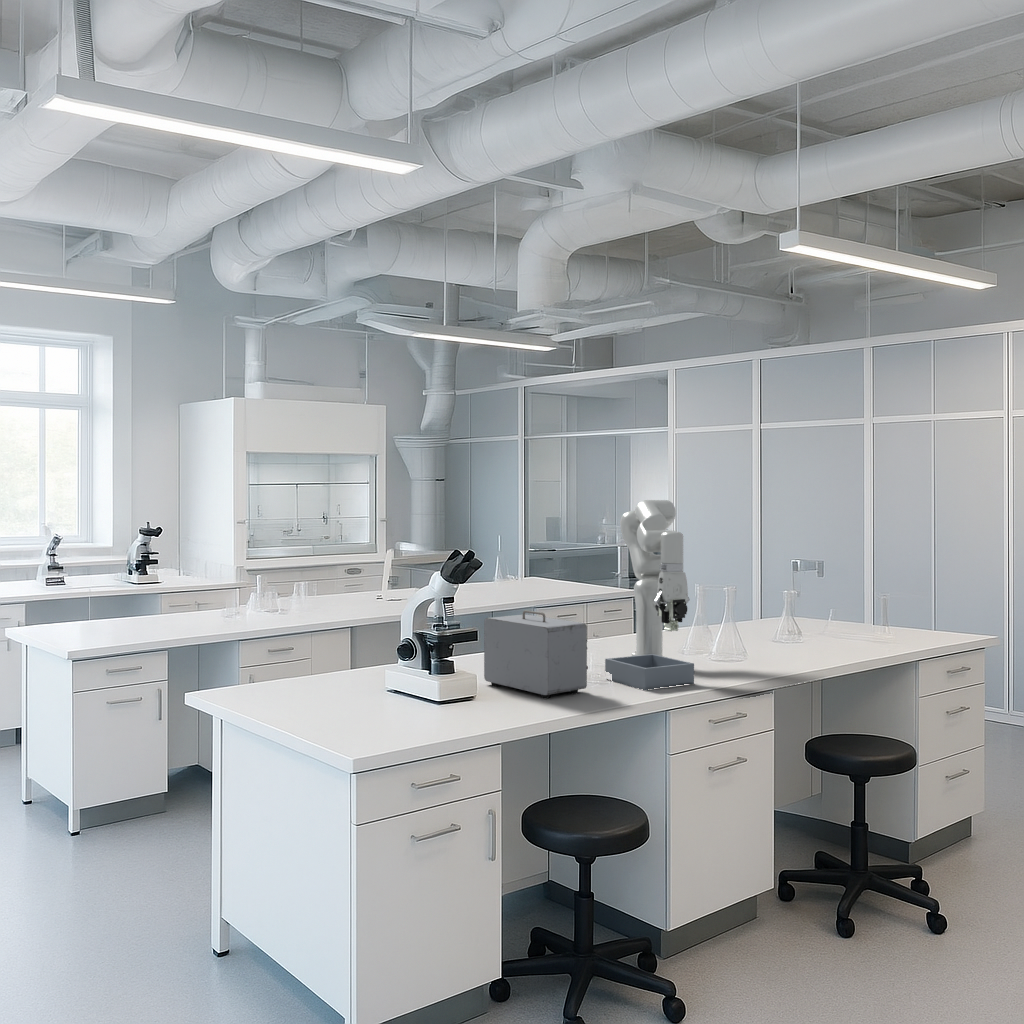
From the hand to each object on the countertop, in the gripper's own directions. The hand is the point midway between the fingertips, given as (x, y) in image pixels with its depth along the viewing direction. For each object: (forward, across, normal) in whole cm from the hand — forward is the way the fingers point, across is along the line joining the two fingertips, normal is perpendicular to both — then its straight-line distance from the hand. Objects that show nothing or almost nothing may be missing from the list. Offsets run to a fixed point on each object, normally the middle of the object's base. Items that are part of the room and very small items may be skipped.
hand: (672, 621), depth 329 cm
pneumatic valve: (+3, 0, 0) cm, 3 cm away
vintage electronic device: (+20, -47, +11) cm, 52 cm away
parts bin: (+20, -9, +1) cm, 22 cm away
